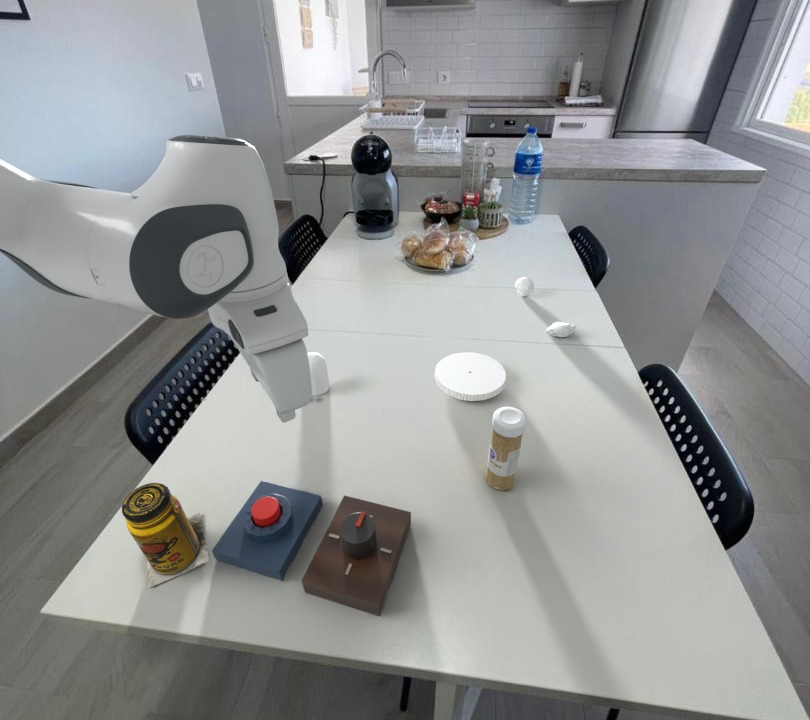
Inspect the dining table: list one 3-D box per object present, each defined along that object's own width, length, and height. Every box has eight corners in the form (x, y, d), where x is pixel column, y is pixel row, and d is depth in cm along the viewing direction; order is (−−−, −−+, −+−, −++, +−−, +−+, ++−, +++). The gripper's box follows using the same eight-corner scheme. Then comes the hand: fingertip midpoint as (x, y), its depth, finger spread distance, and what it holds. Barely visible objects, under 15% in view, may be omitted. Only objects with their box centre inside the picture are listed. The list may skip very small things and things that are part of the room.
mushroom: (509, 294, 120) (512, 277, 117) (522, 289, 122) (524, 272, 120) (524, 301, 117) (526, 284, 114) (536, 296, 119) (539, 278, 116)
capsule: (324, 397, 86) (319, 364, 82) (298, 394, 87) (291, 361, 83) (333, 380, 91) (328, 348, 86) (308, 377, 92) (302, 345, 87)
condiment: (149, 588, 57) (112, 533, 50) (146, 535, 63) (112, 479, 56) (210, 562, 59) (182, 506, 52) (200, 514, 65) (174, 458, 58)
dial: (369, 563, 56) (367, 546, 53) (337, 554, 57) (333, 536, 54) (381, 533, 59) (379, 515, 57) (350, 524, 60) (348, 507, 58)
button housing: (282, 581, 57) (276, 564, 55) (215, 560, 60) (207, 542, 57) (323, 505, 66) (319, 487, 64) (264, 489, 69) (258, 472, 67)
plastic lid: (451, 355, 97) (451, 345, 96) (513, 373, 92) (515, 363, 90) (422, 391, 87) (422, 381, 86) (490, 414, 82) (492, 403, 80)
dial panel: (380, 616, 53) (378, 603, 51) (305, 592, 56) (301, 579, 54) (411, 524, 63) (410, 511, 62) (346, 507, 66) (344, 494, 64)
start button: (272, 530, 59) (269, 522, 58) (248, 523, 60) (245, 515, 59) (285, 507, 62) (283, 500, 61) (262, 501, 63) (260, 493, 62)
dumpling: (553, 345, 101) (551, 329, 99) (543, 336, 105) (541, 321, 103) (582, 336, 101) (581, 320, 99) (571, 328, 106) (570, 313, 104)
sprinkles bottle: (478, 477, 70) (486, 413, 62) (500, 464, 72) (510, 401, 64) (498, 497, 67) (509, 432, 59) (520, 483, 69) (533, 419, 61)
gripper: (197, 272, 54) (225, 365, 62) (250, 350, 40) (277, 456, 48) (248, 261, 57) (268, 350, 65) (314, 329, 43) (330, 433, 51)
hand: (273, 396), depth 56 cm, fingers open, 8 cm apart
